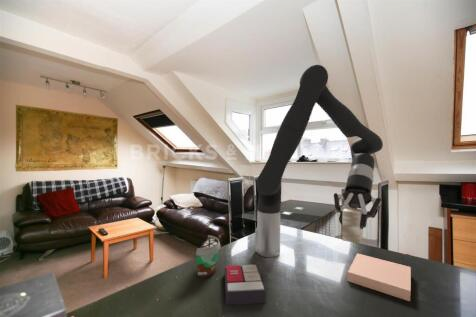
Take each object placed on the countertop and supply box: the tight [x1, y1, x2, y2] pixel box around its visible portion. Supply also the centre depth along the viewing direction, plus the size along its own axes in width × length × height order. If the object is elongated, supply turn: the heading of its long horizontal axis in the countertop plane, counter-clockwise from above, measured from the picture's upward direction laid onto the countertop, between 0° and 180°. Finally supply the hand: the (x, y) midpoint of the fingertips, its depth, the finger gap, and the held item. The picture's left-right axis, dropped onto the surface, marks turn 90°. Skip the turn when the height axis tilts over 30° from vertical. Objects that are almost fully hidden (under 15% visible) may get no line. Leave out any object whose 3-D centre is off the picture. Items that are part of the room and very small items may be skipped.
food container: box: [195, 234, 222, 278], centre depth 79 cm, size 12×6×10 cm, turn 168°
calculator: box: [224, 264, 267, 306], centre depth 70 cm, size 11×4×15 cm
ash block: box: [341, 207, 363, 245], centre depth 69 cm, size 5×5×9 cm
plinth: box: [347, 253, 412, 302], centre depth 74 cm, size 16×16×3 cm
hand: (351, 225), depth 68 cm, fingers closed on ash block, 4 cm apart
